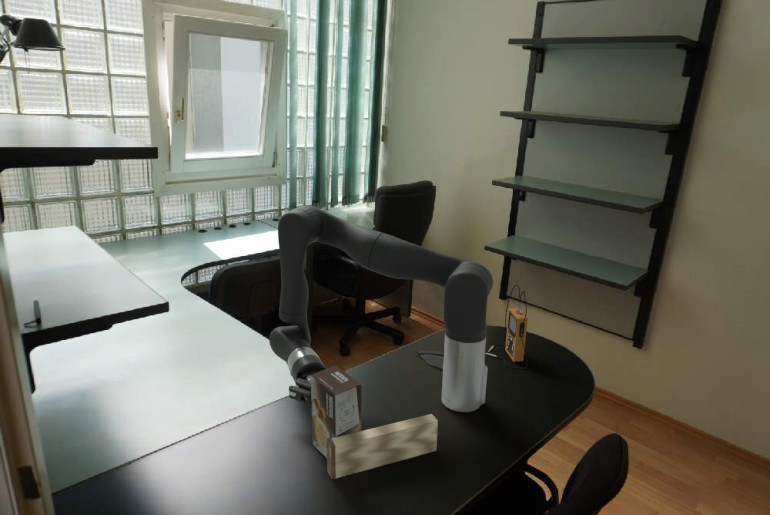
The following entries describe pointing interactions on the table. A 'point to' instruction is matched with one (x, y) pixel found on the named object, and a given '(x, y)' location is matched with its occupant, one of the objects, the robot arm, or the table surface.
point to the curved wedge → (432, 358)
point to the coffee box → (334, 406)
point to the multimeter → (515, 332)
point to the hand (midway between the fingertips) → (328, 408)
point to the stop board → (381, 445)
